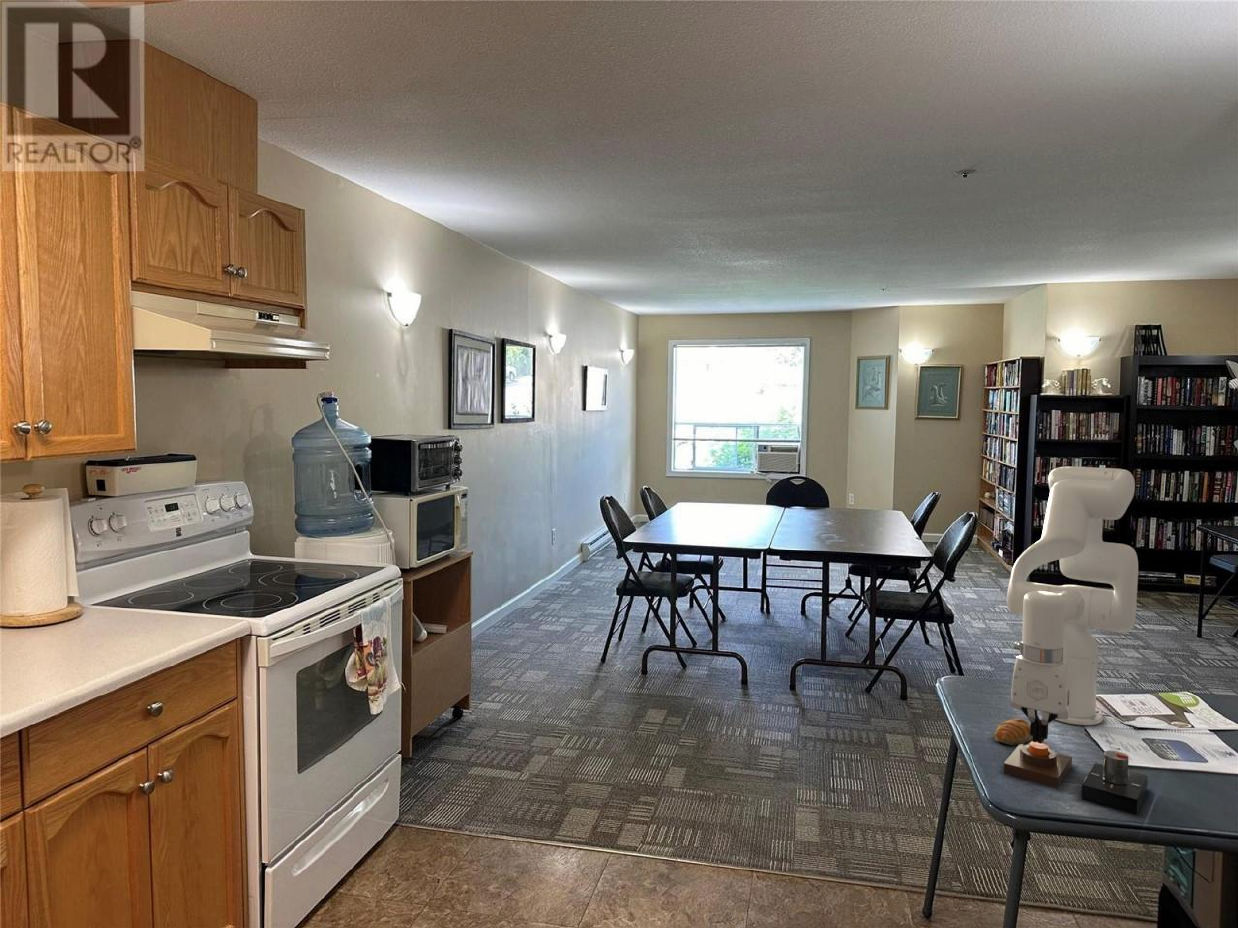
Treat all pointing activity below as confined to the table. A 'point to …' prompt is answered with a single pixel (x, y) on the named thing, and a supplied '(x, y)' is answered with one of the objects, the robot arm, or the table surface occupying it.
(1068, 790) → the table surface
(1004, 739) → the pastry
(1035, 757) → the block
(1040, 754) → the button
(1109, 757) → the dial
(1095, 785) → the dial panel
